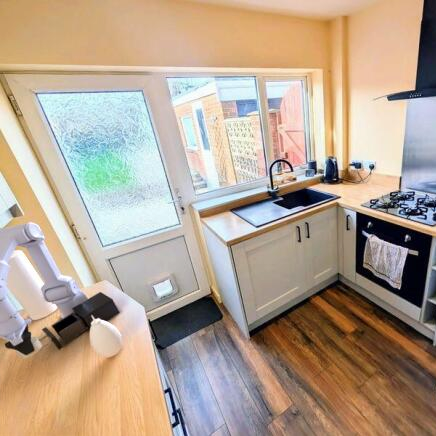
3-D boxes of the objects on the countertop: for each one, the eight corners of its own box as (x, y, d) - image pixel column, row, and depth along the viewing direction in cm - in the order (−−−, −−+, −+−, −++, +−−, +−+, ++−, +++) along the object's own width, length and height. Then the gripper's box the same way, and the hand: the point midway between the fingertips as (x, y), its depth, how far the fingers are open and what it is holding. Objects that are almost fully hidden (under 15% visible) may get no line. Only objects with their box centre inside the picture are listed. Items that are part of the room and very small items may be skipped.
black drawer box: (91, 331, 96) (82, 317, 93) (80, 322, 101) (71, 308, 98) (119, 312, 104) (112, 298, 101) (107, 304, 109) (100, 291, 106)
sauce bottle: (130, 351, 86) (108, 313, 78) (104, 368, 81) (78, 329, 73) (123, 339, 91) (102, 302, 83) (98, 354, 86) (74, 317, 78)
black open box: (44, 360, 85) (35, 348, 83) (35, 349, 90) (26, 338, 88) (89, 330, 96) (82, 319, 93) (78, 321, 100) (72, 311, 98)
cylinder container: (26, 323, 104) (-18, 265, 91) (35, 309, 112) (-5, 254, 99) (54, 313, 108) (15, 256, 95) (61, 300, 115) (25, 246, 103)
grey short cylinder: (38, 341, 84) (33, 334, 82) (45, 347, 81) (39, 340, 80) (17, 354, 79) (11, 347, 78) (23, 361, 77) (17, 354, 76)
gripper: (25, 319, 72) (49, 350, 78) (19, 299, 81) (41, 328, 87) (-10, 336, 67) (18, 367, 73) (-12, 313, 76) (14, 343, 82)
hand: (29, 347), depth 80 cm, fingers closed on grey short cylinder, 5 cm apart
